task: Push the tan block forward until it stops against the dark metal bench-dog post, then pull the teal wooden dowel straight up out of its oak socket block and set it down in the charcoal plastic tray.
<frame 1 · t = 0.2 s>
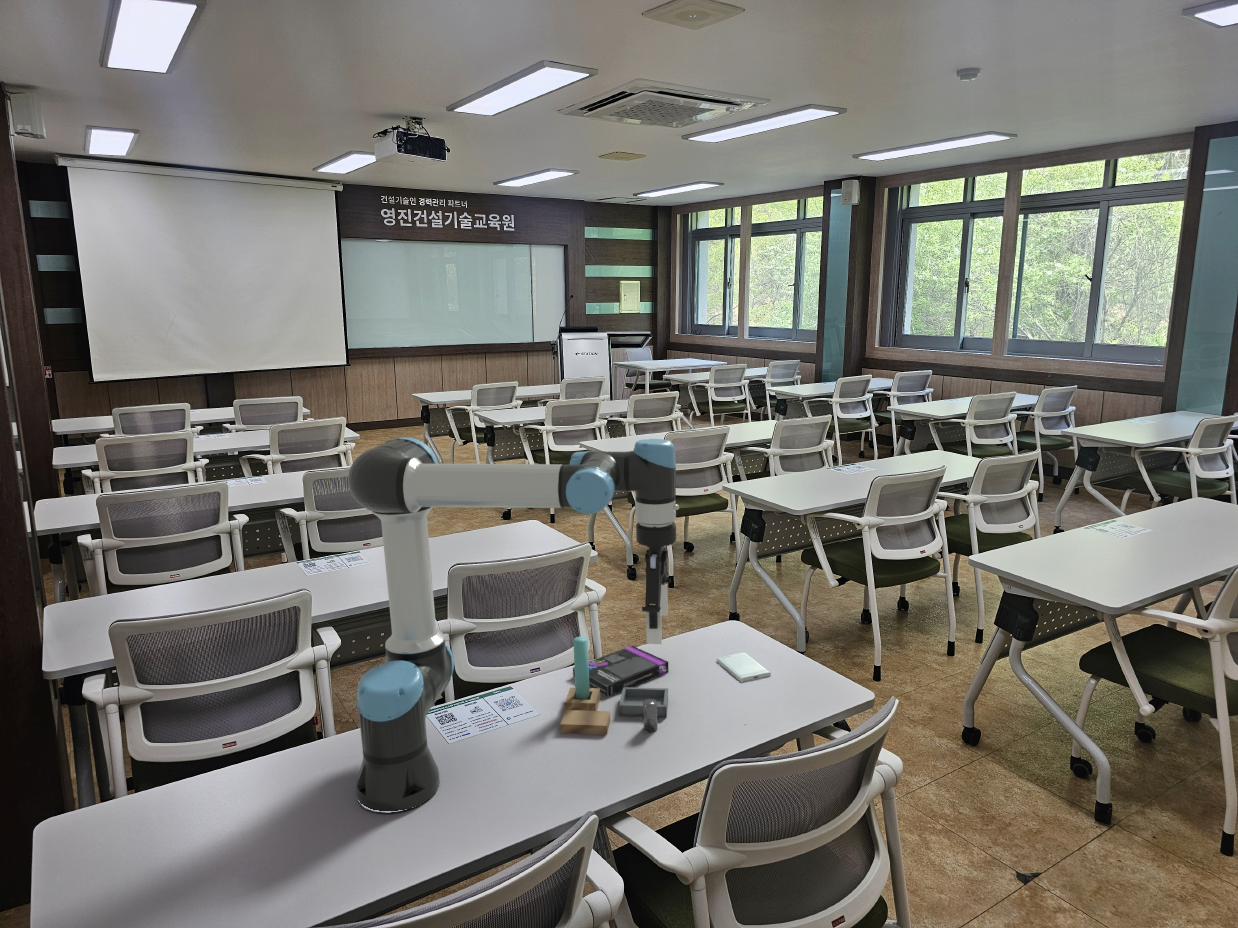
hand: (657, 628, 151), 28 cm above the table, fingers open, 13 cm apart
dowel: (583, 705, 178), resting in socket block
box: (621, 676, 193), on the table
tan block: (585, 728, 170), on the table
bench dog: (650, 728, 168), on the table
socket block: (582, 705, 178), on the table
hard drive: (743, 671, 195), on the table
tray: (644, 707, 177), on the table
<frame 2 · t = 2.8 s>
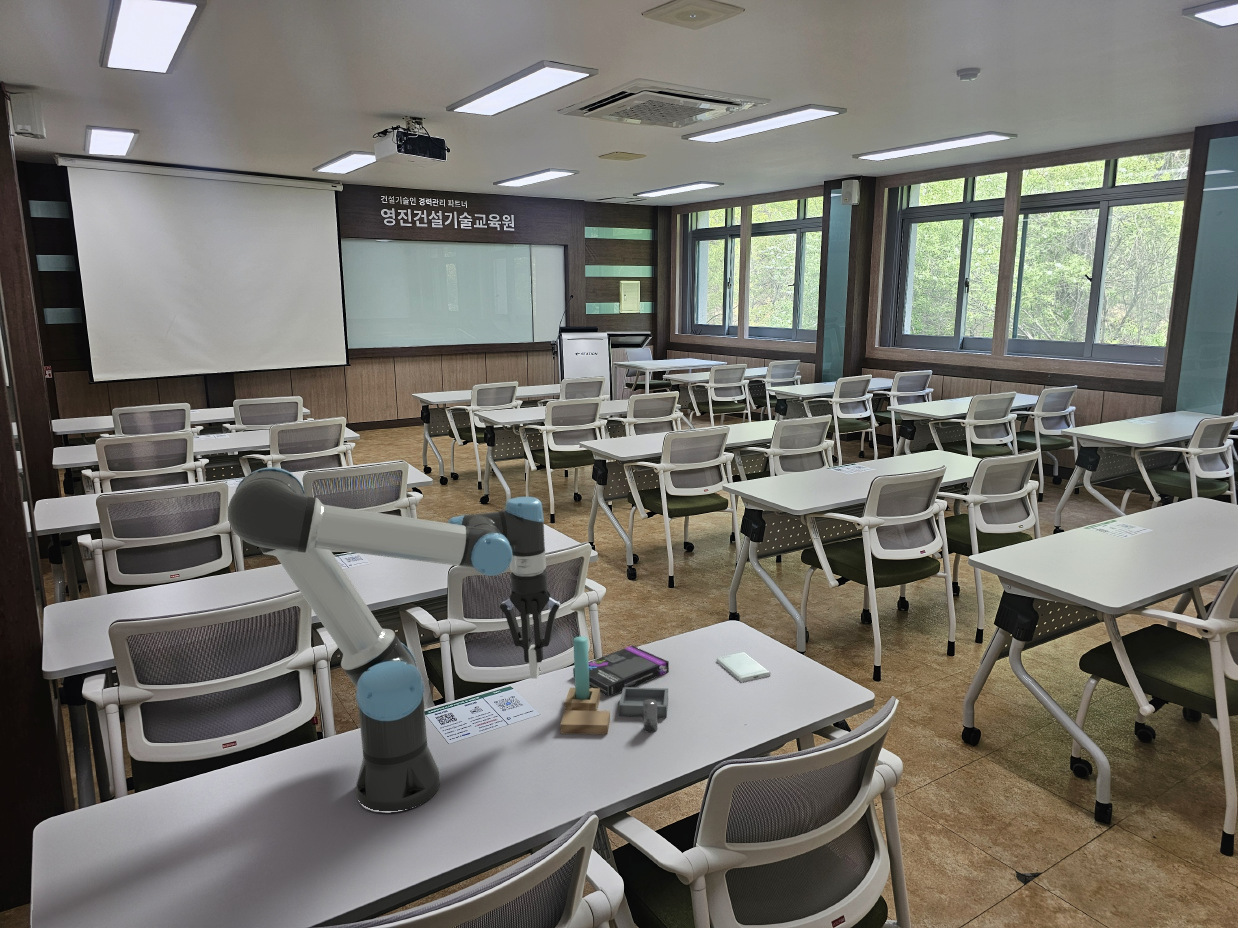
hand: (534, 675, 169), 11 cm above the table, fingers closed
nothing on the table moved.
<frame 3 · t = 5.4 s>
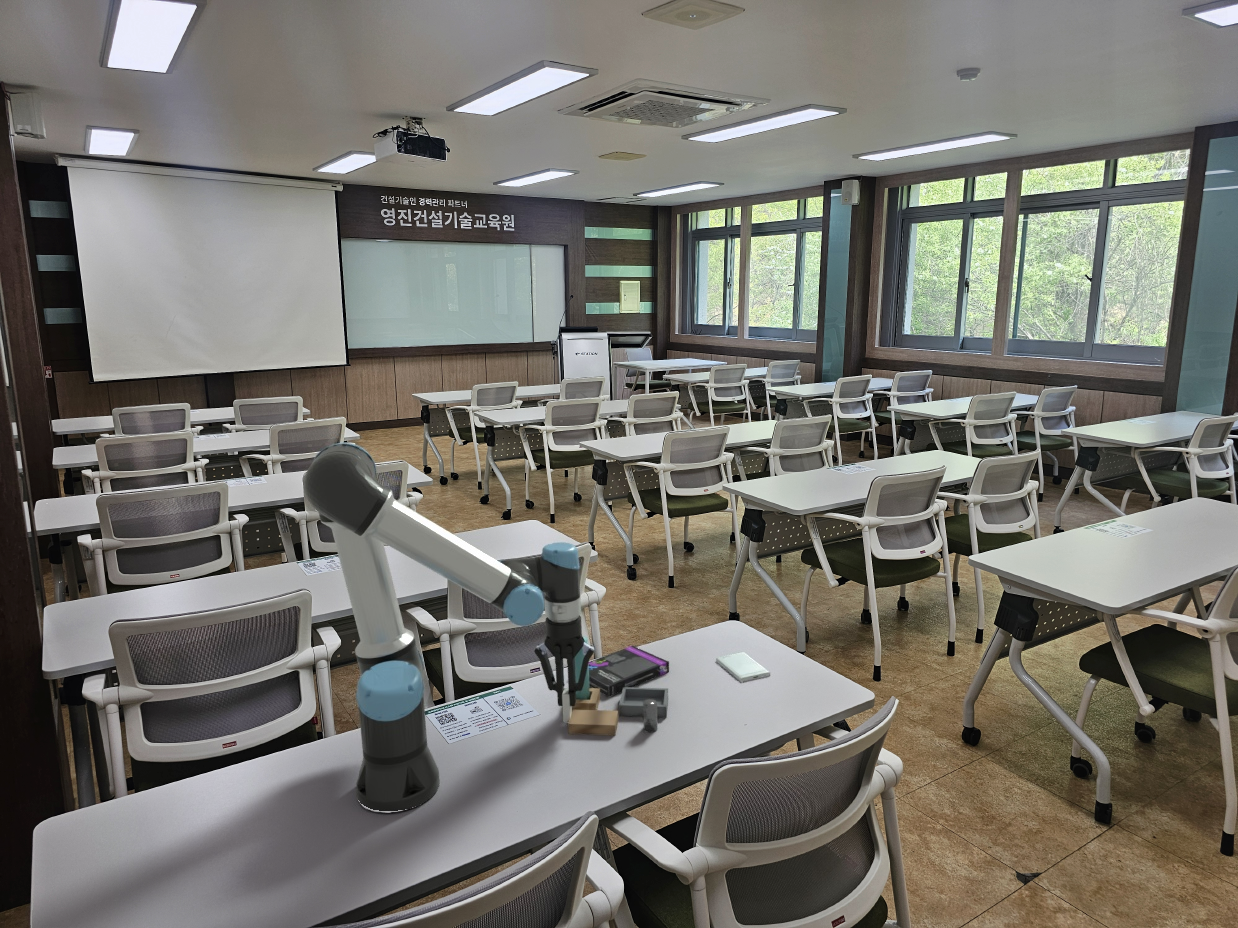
hand: (567, 718, 170), 2 cm above the table, fingers closed
tan block: (593, 727, 169), on the table, touching gripper
everything else where it was.
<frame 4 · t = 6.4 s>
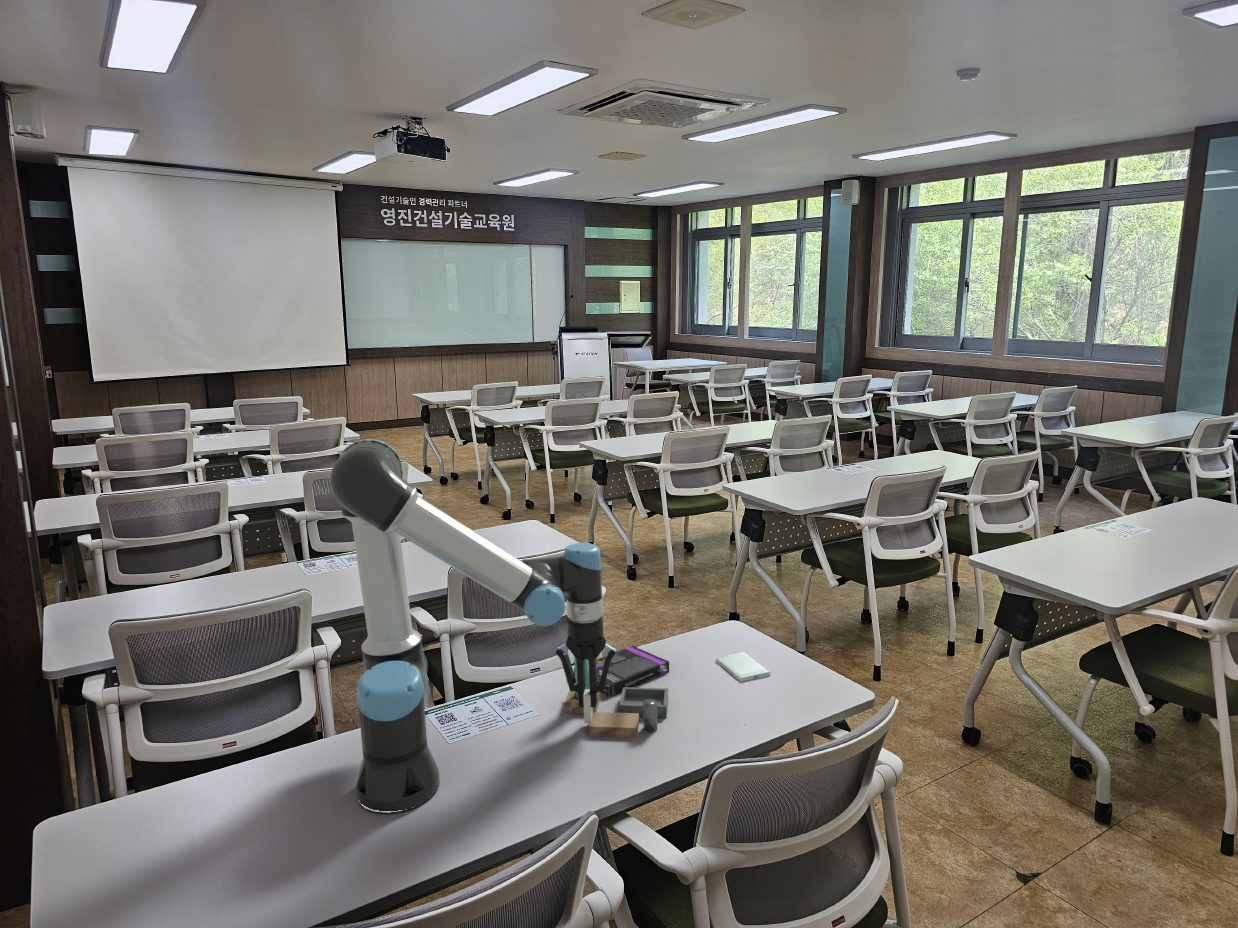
hand: (588, 719, 169), 1 cm above the table, fingers closed
tan block: (614, 730, 168), on the table, touching gripper
everything else where it was.
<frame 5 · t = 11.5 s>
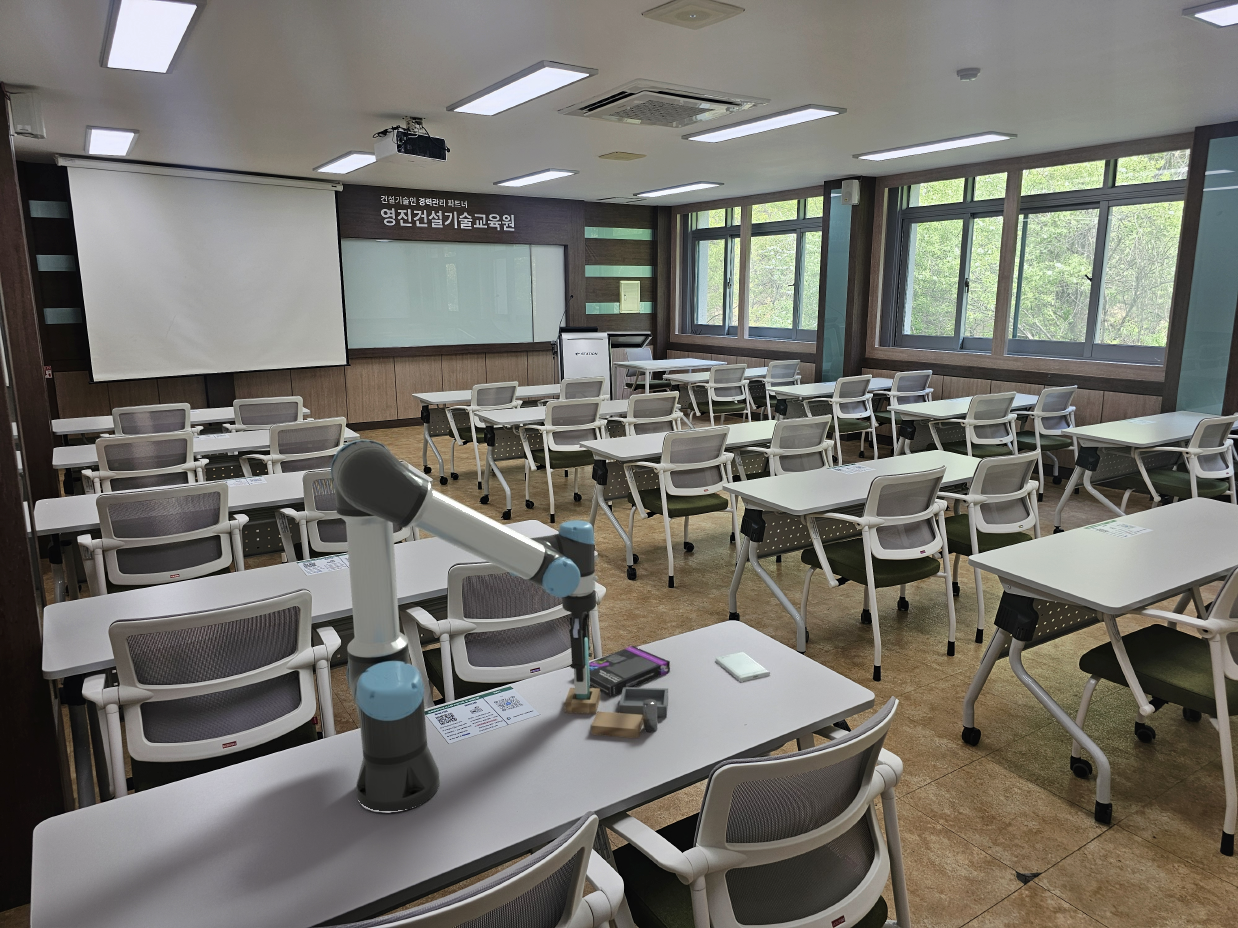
hand: (582, 688, 178), 4 cm above the table, fingers closed on dowel, 3 cm apart
dowel: (583, 705, 178), resting in socket block, touching gripper
tan block: (617, 730, 168), on the table
everything else where it was.
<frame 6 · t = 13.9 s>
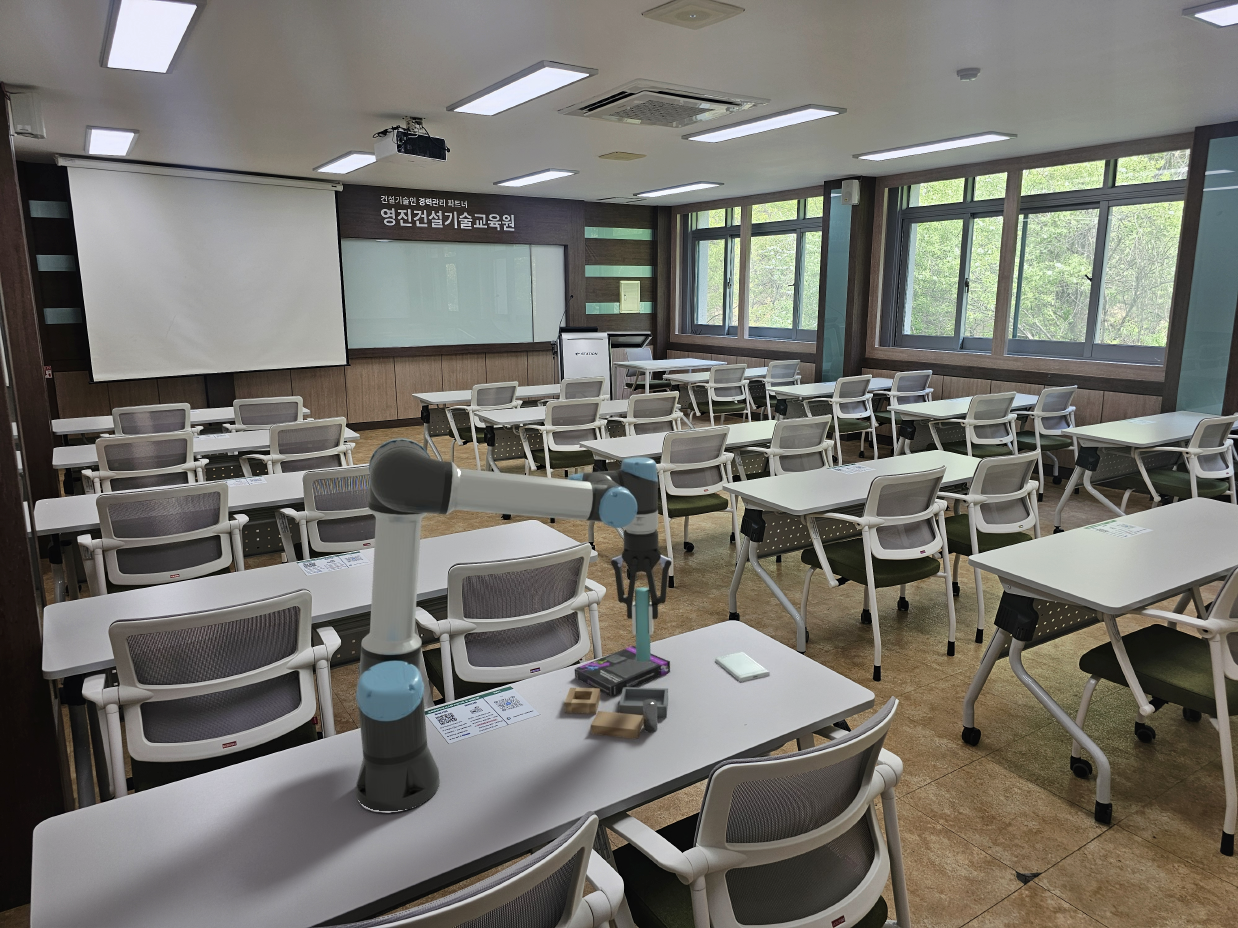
hand: (643, 631, 173), 18 cm above the table, fingers closed on dowel, 3 cm apart
dowel: (643, 658, 175), point 12 cm above the table, touching gripper
everything else where it was.
when the fingers open (6 cm above the table, at t = 16.2 s): dowel stays where it is, resting on tray.
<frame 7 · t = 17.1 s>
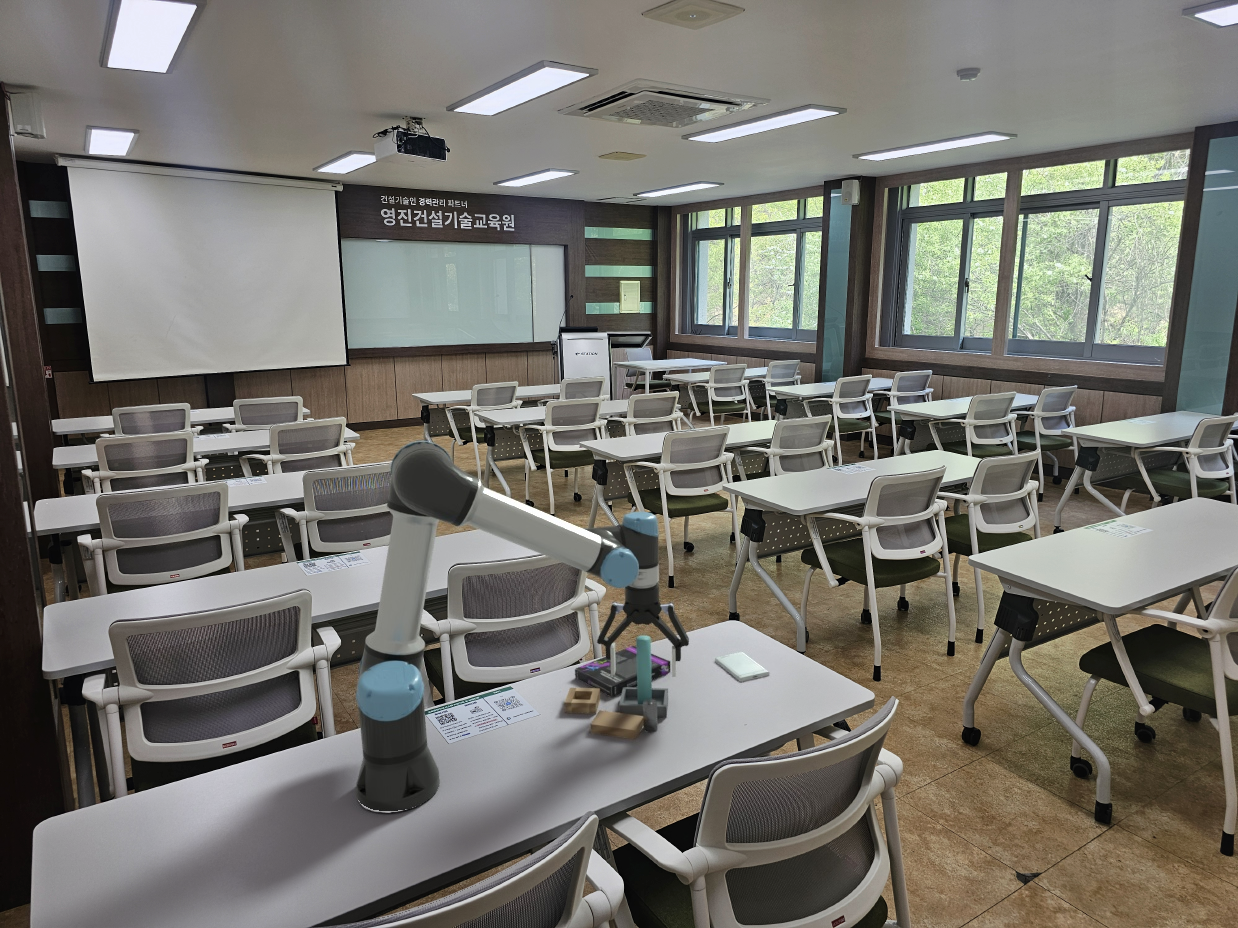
hand: (643, 673, 175), 8 cm above the table, fingers open, 13 cm apart
dowel: (644, 704, 177), point 1 cm above the table, touching tray
everything else where it was.
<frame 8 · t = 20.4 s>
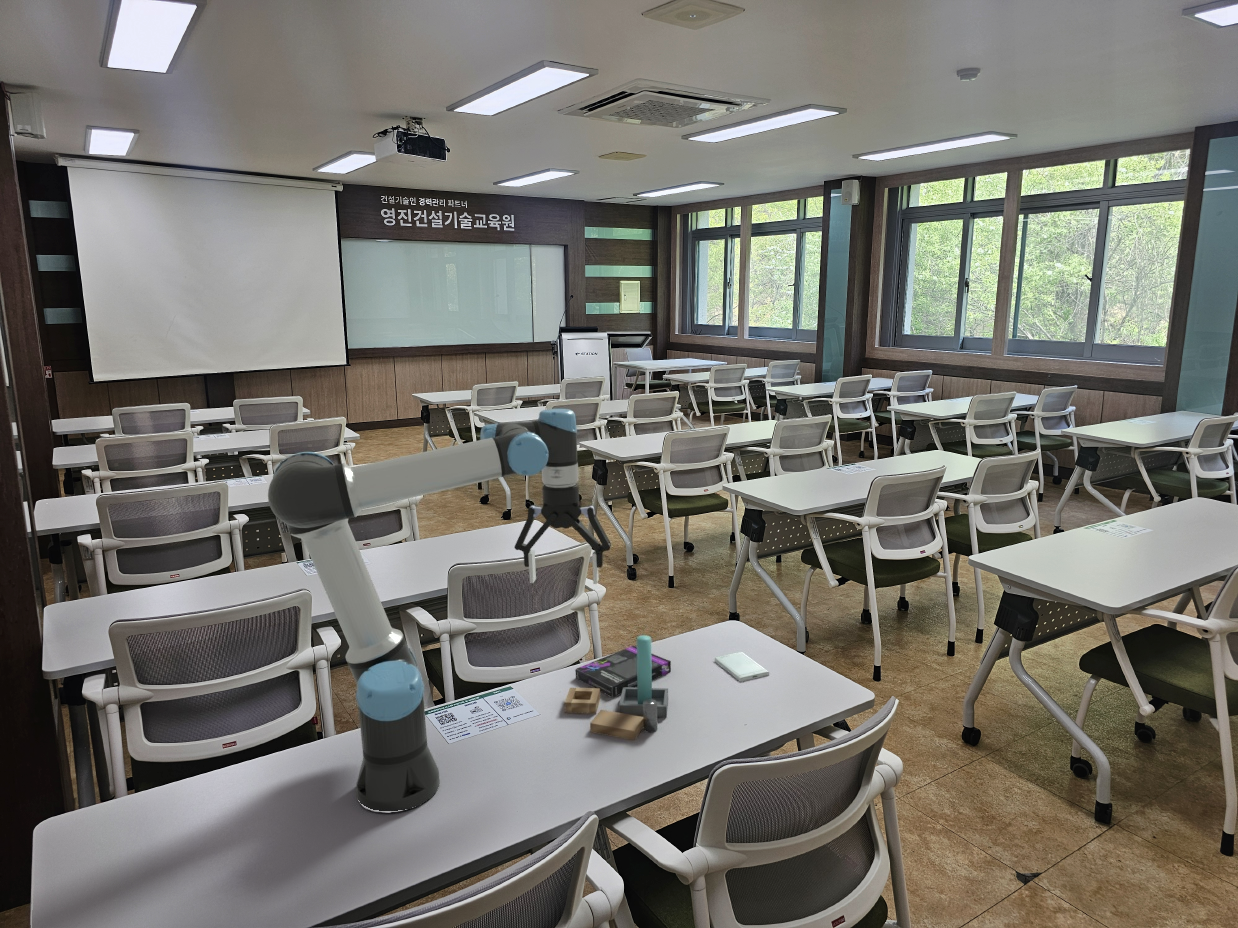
hand: (564, 581, 167), 32 cm above the table, fingers open, 13 cm apart
nothing on the table moved.
at the end: tan block 0.7 cm from the target spot, on the table; dowel inside the target area on the tray (0.1 cm from its centre), point 0.6 cm above the tray's base; the gripper is holding nothing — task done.
